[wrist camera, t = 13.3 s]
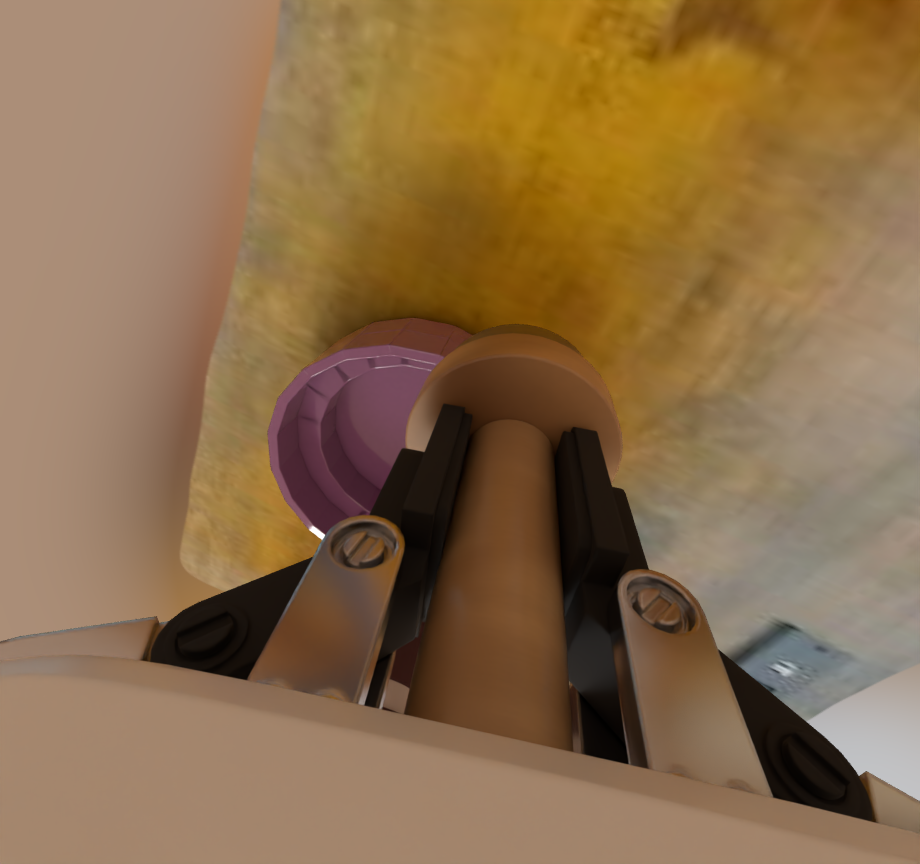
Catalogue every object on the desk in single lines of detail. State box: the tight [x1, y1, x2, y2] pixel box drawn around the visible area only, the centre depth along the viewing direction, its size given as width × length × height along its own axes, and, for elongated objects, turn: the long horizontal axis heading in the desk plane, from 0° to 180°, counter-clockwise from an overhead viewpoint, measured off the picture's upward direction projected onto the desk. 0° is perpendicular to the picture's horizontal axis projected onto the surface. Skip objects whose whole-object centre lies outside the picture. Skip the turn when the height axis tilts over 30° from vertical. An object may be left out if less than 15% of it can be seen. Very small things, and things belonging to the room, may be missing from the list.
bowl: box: [268, 318, 473, 540], centre depth 27 cm, size 16×16×6 cm
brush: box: [404, 324, 622, 752], centre depth 9 cm, size 5×5×11 cm
